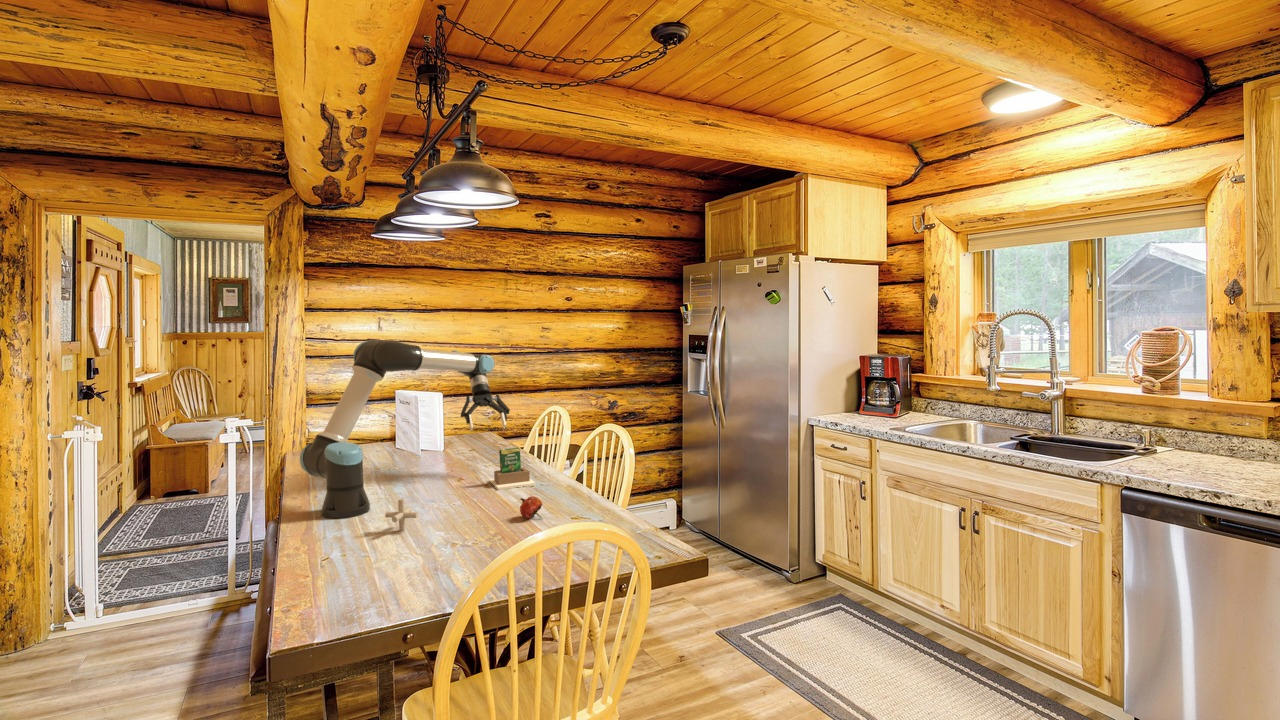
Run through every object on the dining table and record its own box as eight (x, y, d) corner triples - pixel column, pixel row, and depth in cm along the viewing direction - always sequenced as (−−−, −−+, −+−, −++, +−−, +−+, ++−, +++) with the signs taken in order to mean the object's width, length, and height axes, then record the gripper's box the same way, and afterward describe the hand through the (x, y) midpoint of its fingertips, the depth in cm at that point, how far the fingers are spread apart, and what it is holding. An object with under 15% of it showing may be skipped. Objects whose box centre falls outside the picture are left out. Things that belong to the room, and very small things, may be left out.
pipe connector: (424, 525, 208) (423, 495, 208) (410, 536, 198) (409, 504, 198) (394, 525, 209) (393, 494, 209) (379, 535, 199) (378, 503, 199)
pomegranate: (544, 521, 218) (525, 501, 221) (553, 507, 215) (533, 486, 218) (530, 530, 212) (510, 509, 215) (539, 515, 209) (518, 494, 212)
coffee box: (501, 483, 257) (500, 450, 256) (499, 481, 259) (499, 449, 259) (521, 480, 260) (520, 448, 260) (519, 479, 263) (518, 447, 262)
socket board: (535, 485, 257) (535, 472, 256) (498, 490, 250) (497, 477, 250) (524, 477, 270) (524, 465, 270) (488, 481, 263) (488, 469, 263)
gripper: (507, 392, 288) (516, 431, 275) (449, 395, 277) (456, 435, 265) (510, 381, 283) (519, 420, 270) (451, 383, 272) (458, 424, 259)
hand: (488, 428), depth 267 cm, fingers open, 13 cm apart
